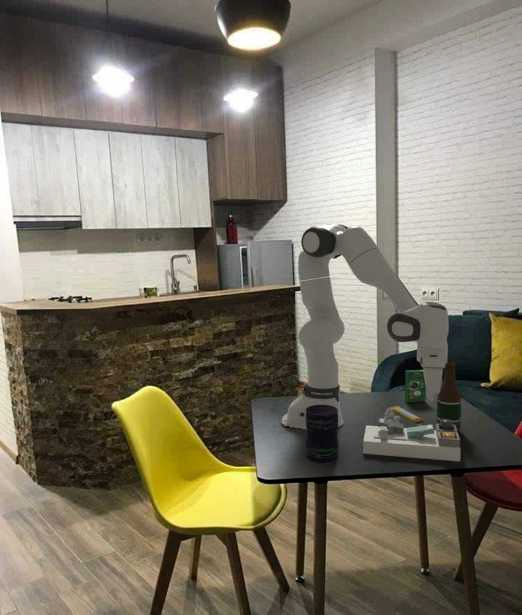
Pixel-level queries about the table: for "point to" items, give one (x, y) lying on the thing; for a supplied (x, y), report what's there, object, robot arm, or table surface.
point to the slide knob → (383, 432)
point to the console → (412, 444)
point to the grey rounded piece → (391, 416)
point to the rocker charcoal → (396, 426)
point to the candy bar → (406, 414)
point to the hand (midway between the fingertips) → (430, 399)
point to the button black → (446, 424)
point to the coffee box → (415, 386)
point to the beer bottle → (449, 398)
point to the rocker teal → (414, 430)
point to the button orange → (448, 435)
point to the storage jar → (322, 433)
